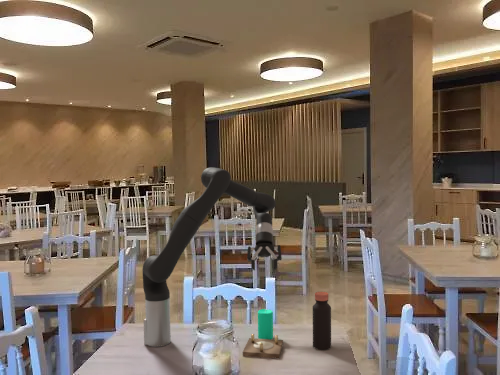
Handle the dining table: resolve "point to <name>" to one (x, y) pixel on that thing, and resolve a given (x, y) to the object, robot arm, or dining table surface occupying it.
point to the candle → (265, 324)
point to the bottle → (321, 322)
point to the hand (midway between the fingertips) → (264, 269)
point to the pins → (262, 343)
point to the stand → (268, 348)
